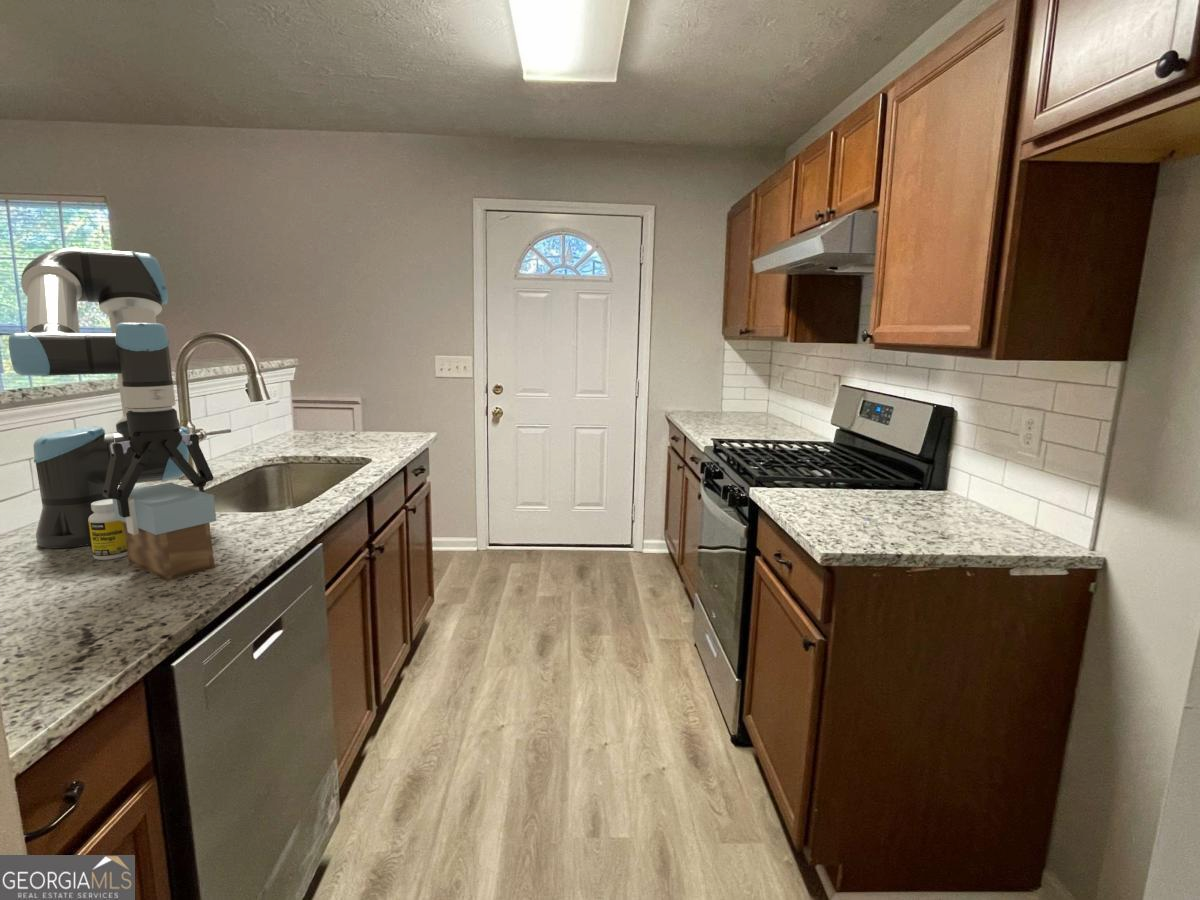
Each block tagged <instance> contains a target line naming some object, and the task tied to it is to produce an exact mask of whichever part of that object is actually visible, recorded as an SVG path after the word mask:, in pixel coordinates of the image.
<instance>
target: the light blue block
mask: <svg viewBox="0 0 1200 900" xmlns="http://www.w3.org/2000/svg"><path fill="white" fill-rule="evenodd" d="M129 498H132V499H134V502H135V510H136V517H137V524H138V528H140V529H142V530H145V531H147V532H150V533H152V534H155V535H158V534H162V533H166V532H171V531H175V530H179V529H183V528H188V527H192V526H196V525H201V524H205V523H212V522H217V515H216V506H215V498H214V494H211V493H207V492H205V491H204V492H201V491H198V490H194V489H191V488H188V486H183V485H182V484H181V485H180V484H177V483H173V482H168V483H167V482H166V483H161V484H155V485H150V486H144V487H143V486H142V487H138V488H133V490H132V492H131V494H130V496H129ZM112 500H113V507H114V514H115V519H118V520H120V521H123V522H125V523H126V517H125V518H123V517H121V516H120V515H119V512H118V505H117V500H116V499H112Z"/></svg>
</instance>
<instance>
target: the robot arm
mask: <svg viewBox="0 0 1200 900" xmlns="http://www.w3.org/2000/svg"><path fill="white" fill-rule="evenodd" d="M20 280H21V281H20V284H21V289H22V291H23V293H24V295H26V297H27V299H26V300H27V302H26V309H27V310H26V329H25V330H26V331H25V332H15V333H11V334H10V335H9V336H8V350H9V358H10V361H11V365H12V369H13V371H14V372H15V373H16V374H18V375H20V376H31V377H32V376H33V377H34V376H35V377H36V376H37V377H39V376H40V377H43V378H44V377H48V376H49V377H50V376H54V377H55V376H76V375H77V376H78V375H80V376H81V375H83V376H84V375H116V374H117V383H118V387H119V388H118V389H119V395H120V400H121V401H120V402H121V409H122V418H120V420H118V421H117V422H116V424H115V428H116V431H113V432H106V431H105V429H104V428H103V427H102V426H97V425H96V426H84V427H78V428H72V429H67V430H61V431H57V432H52V433H49V434H46V435H43V436H40V437H39V438H37V439H36V440H35V441H34V442H33V445H32V446H33V457H34V459H33V463H34V464H35V468H36V473H37V481H38V485H39V486H38V487H39V492H40V493H39V495H40V498H41V504H42V505H41V507H42V508H41V512H40V516H39V520H38V524H37V528H36V532H35V539H36V545H37V546H38V547H40V548H43V549H44V548H46V549H66V548H75V547H76V548H77V547H78V548H79V547H83V546H90V545H92V544H91V537H90V529H89V522H88V519H89V516H90V515H92V514H93V513H94V512H93V511H92V509H91V503H93V502H95V501H100V500H106V499H116V500H117V505H118V512H119V515H120V516H121V517H123V518H125V517H126V524H127V531H128V533H131V534H133V535H136V534H139V531H138V524H137V517H136V510H135V502H134V499H132V498H129V496H130V494H131V492H132V490H133V489H135V488H134V487H135V486H136V484H141V483H143V484H144V483H151V482H158V481H161V482H164V481H168V480H174V479H175V480H176V479H180V478H183V477H184V476H185V477H186V478H187V480H188V481H190V483H191V485H187V487H188V488H191V489H194V490H198V491H201V492H205V486H206V485H207V483H209V482H211V481H214V478H215V477H214V475H213V473H212V471H211V468H210V466H209V464H208V461H207V460H206V458H205V455H204V453H203V451H202V449H201V446H200V436H199V435H198V434H197V433H193V432H189V428H188V427H185V426H180V421H179V418H178V412H177V410H176V409H175V408H173V407H174V406H176V397H175V387H174V381H173V374H172V373H173V372H172V364H171V353H170V346H169V345H170V340H169V338H168V332H167V328H166V326H165V325H164V324H163V323H157V319H156V318H157V316H158V315H160V314H161V313H162V311H163V308H162V306H163V305H167V304H168V302H169V299H168V297H169V296H168V290H167V287H166V280H165V277H164V274H163V271H162V268H161V266H160V262H159V261H158V260H157V258H156V257H155V256H154V255H152V254H151V253H146V252H136V251H134V250H129V251H124V250H122V251H121V250H108V249H95V248H93V249H92V248H81V247H61V248H57V249H54V250H51V251H47V252H45V253H43V254H40V255H39V256H37V257H36V258H34V259H32V260H31V261H30V262H29V263H28V264H27V265H26V266H25V268H24V269H23V270H22V273H21V279H20ZM78 302H89V303H98V307H99V311H101V312H102V313H103V314H105V315H106V316H108V318H109V324H110V332H111V333H107V332H106V333H103V332H102V333H101V332H99V333H97V332H95V333H89V332H85V333H83V332H80V322H79V312H78ZM189 455H190V456H191V459H192V461H193V463H194V466H195V467H196V470H197V472H196V470H195V469H194V468H193V467H192V465H190V463H189Z"/></svg>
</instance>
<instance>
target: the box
mask: <svg viewBox="0 0 1200 900" xmlns="http://www.w3.org/2000/svg"><path fill="white" fill-rule="evenodd" d="M210 523H211V522H209V523H205V524H201V525H196V526H192V527H188V528H183V529H179V530H175V531H171V532H166V533H162V534H158V535H155V534H152V533H150V532H147V531H145V530H142V529H140V528H138V531H139V534H136V535H133V534H131V533H128V531H127V524H126V523H125V522H123V525H124V532H125V539H126V546H127V553H128V555H127V560H128V563H129V564H131V565H133V566H135V567H137V568H140V569H142V570H144V571H146V572H147V573H150V574H152V575H154V576H157V577H159V578H160V579H163V580H165V581H167V582H169V581H171V580H175V579H179V578H182V577H186V576H189V575H191V574H196V573H199V572H202V571H205V570H209V569H213V568H215V560H214V559H215V558H214V552H213V541H212V534H211V525H210Z"/></svg>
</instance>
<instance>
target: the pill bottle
mask: <svg viewBox="0 0 1200 900" xmlns="http://www.w3.org/2000/svg"><path fill="white" fill-rule="evenodd" d="M91 509H92V511H93V512H94V513H93V514H92V515H90V516H89V519H88V522H89V529H90V537H91V544H90V545H91V549H92V556H93V559H95V560H100V561H106V560H107V561H109V560H115V559H120V558H124V557H127V556H128V553H127V546H126V539H125V532H124V525H123V521H120V520H118V519H115V514H114V507H113V500H112V499H106V500H100V501H95V502H93V503H91Z"/></svg>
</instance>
